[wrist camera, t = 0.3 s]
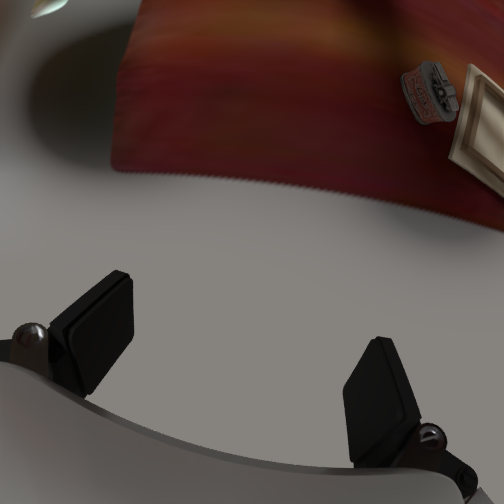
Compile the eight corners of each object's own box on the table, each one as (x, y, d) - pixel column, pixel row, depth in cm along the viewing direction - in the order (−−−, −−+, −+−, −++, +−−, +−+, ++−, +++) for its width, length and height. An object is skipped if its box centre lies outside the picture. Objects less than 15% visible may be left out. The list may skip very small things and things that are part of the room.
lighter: (434, 122, 30) (471, 117, 21) (417, 127, 31) (452, 122, 22) (413, 72, 28) (445, 54, 19) (395, 75, 29) (424, 57, 20)
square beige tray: (467, 64, 25) (477, 61, 22) (525, 115, 25) (535, 115, 22) (447, 158, 32) (458, 159, 29) (506, 201, 31) (517, 205, 28)
